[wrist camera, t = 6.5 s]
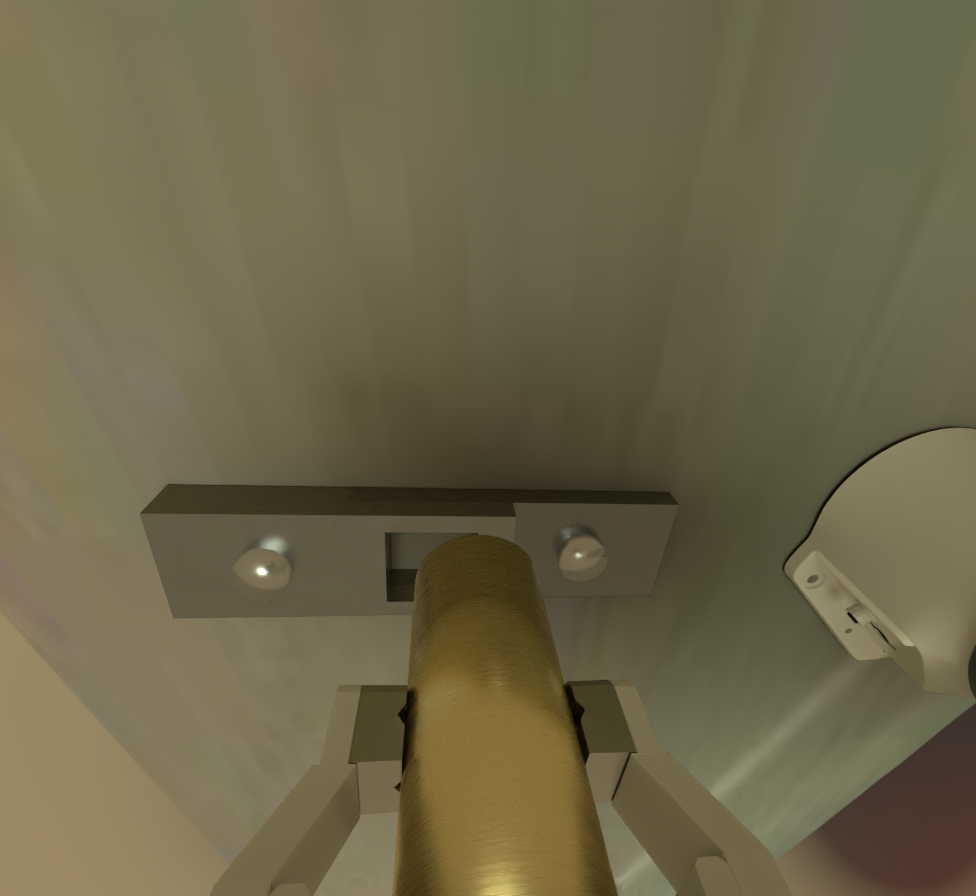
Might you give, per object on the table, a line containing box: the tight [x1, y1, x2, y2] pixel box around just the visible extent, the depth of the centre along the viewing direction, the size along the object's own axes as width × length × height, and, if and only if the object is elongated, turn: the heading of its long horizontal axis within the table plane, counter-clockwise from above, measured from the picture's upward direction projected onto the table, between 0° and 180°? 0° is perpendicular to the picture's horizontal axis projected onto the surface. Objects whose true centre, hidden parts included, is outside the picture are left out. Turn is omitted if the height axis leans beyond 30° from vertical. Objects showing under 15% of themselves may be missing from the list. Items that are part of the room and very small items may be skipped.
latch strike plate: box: [140, 485, 679, 618], centre depth 30 cm, size 32×8×4 cm, turn 86°
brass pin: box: [392, 535, 618, 896], centre depth 10 cm, size 4×4×8 cm
